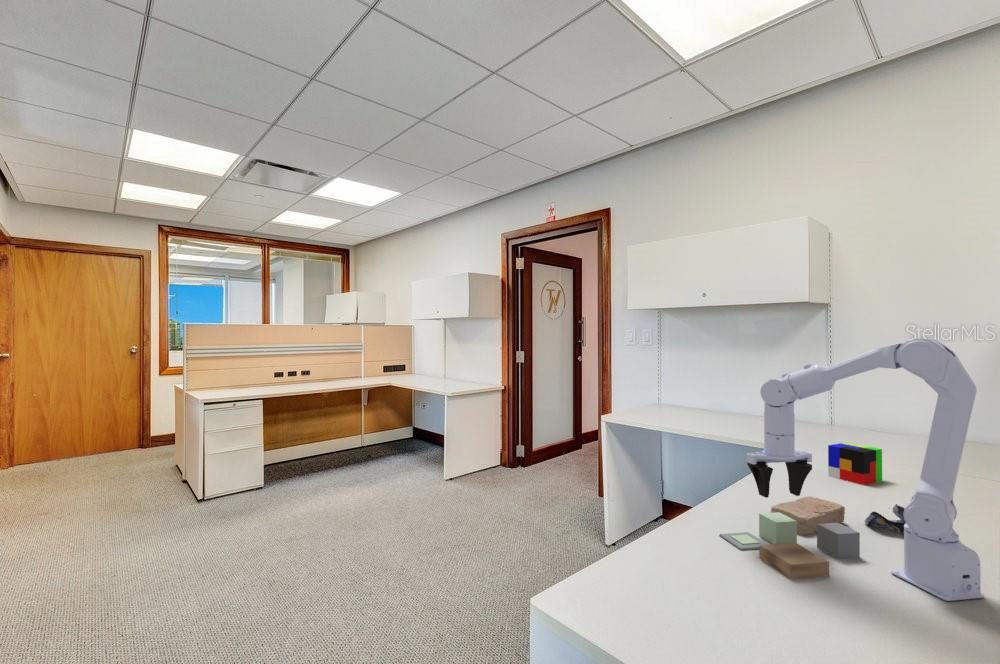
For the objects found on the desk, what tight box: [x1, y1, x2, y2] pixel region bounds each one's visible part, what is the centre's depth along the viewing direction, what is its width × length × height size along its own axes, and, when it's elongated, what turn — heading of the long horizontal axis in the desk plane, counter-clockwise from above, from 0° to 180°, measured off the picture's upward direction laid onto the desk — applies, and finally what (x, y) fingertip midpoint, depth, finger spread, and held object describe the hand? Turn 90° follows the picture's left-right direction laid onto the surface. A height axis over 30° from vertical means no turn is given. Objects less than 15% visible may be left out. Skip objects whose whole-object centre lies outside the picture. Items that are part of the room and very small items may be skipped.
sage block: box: [758, 512, 798, 544], centre depth 100 cm, size 5×5×5 cm
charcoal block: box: [816, 523, 861, 560], centre depth 94 cm, size 5×5×5 cm
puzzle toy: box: [827, 442, 883, 486], centre depth 144 cm, size 10×10×10 cm
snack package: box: [864, 503, 906, 535], centre depth 104 cm, size 12×7×12 cm
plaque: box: [719, 531, 768, 551], centre depth 98 cm, size 7×7×1 cm
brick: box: [770, 495, 846, 536], centre depth 109 cm, size 17×8×5 cm, turn 116°
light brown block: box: [759, 542, 830, 580], centre depth 88 cm, size 8×8×3 cm
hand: (779, 495), depth 100 cm, fingers open, 7 cm apart
